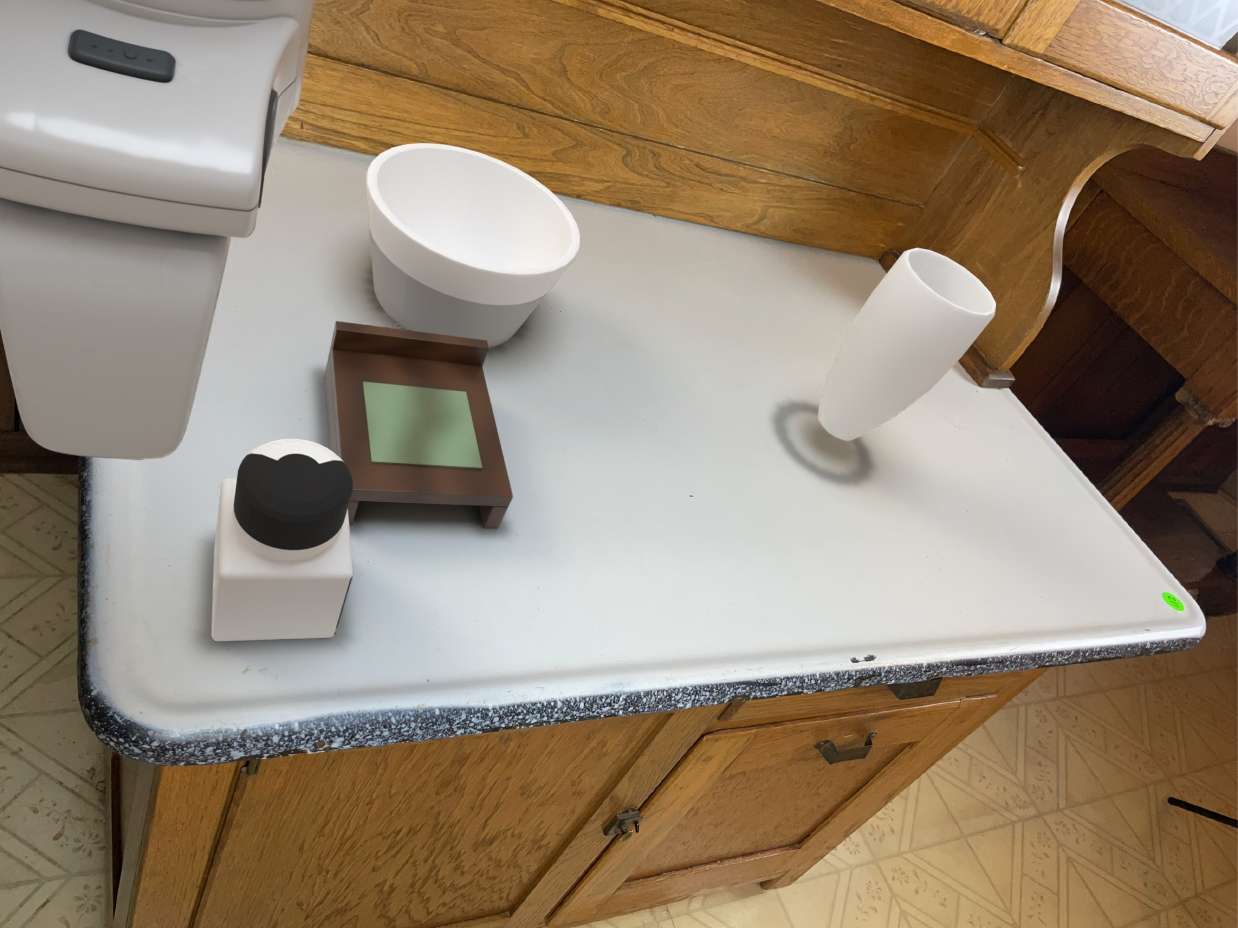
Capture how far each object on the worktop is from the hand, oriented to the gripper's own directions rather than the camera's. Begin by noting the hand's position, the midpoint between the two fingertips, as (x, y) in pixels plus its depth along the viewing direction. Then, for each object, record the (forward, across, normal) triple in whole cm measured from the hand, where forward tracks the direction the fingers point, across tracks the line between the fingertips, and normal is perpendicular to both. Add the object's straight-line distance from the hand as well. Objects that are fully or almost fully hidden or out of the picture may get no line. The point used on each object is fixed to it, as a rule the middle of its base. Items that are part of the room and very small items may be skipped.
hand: (138, 355), depth 34 cm
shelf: (+23, -17, +17) cm, 34 cm away
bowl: (+24, -37, +23) cm, 50 cm away
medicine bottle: (+23, -4, +8) cm, 25 cm away
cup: (+23, -23, +61) cm, 69 cm away
